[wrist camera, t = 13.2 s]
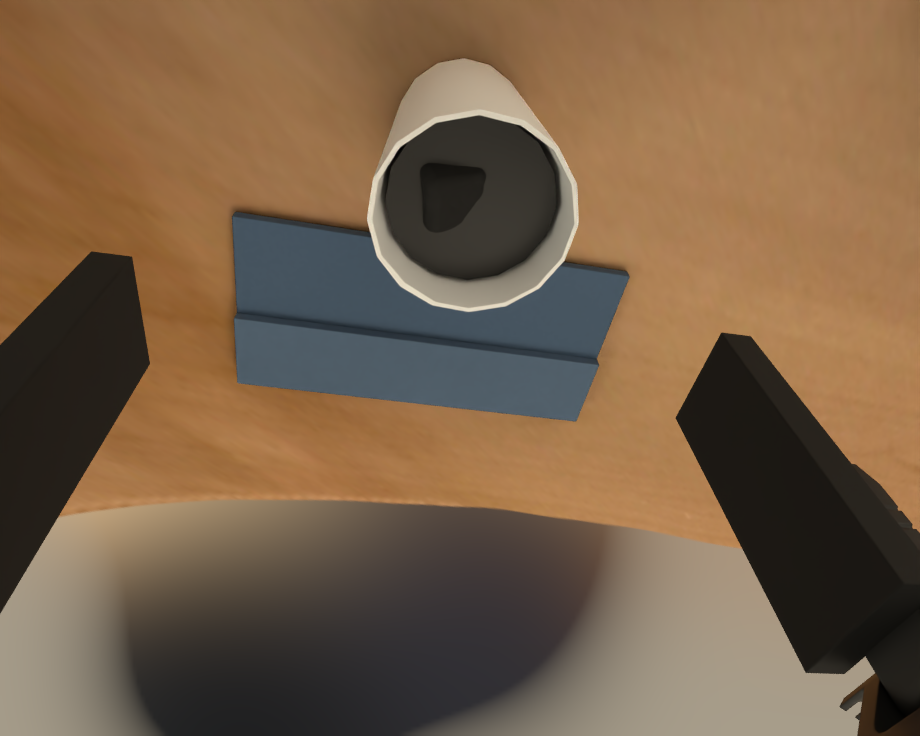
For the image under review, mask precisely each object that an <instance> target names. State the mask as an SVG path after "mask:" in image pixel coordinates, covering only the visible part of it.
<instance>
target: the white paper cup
mask: <svg viewBox="0 0 920 736" xmlns="http://www.w3.org/2000/svg"><path fill="white" fill-rule="evenodd" d="M367 222H368V225H369V229H370V233H371V236H372V240H373V244H374V248H375V251H376V255H377V257H378V259H379V260H380V261H381V263H382V264H383V265H384V266H385V268H386V269H387V270H388V272H389V273H390V274H391V275H392V277H393V278H394V279H395V281H396V282H397V283H398V284H399V286H400V287H402V288H404V289H405V290H407V291H409V292H410V293H412V294H414V295H416V296H417V297H419V298H421V299H422V300H424V301H426V302H427V303H429V304H431V305H433V306H439V307H444V308H449V309H455V310H460V311H466V312H472V311H479V310H485V309H492V308H498V307H505V306H507V305H509V304H511V303H513V302H515V301H517V300H518V299H520V298H522V297H524V296H526V295H528V294H530V293H532V292H534V291H535V290H537V289H539V288H540V287H541V286H542V285H543V284H544V283H545V281H546V280H547V279H548V278H549V277H550V276H551V275H552V274H553V273H554V272H555V270H556V269H557V268H558V267H559V266H560V265H561V264H562V263H563V262H564V260H565V258H566V256H567V253H568V250H569V248H570V245H571V242H572V240H573V237H574V235H575V232H576V229H577V227H578V224H579V222H578V195H577V183H576V181H575V179H574V177H573V175H572V173H571V171H570V169H569V167H568V165H567V163H566V161H565V159H564V157H563V155H562V153H561V151H560V149H559V147H558V146H557V144H556V143H555V142H554V140H553V139H552V138H551V136H550V135H549V134H548V132H547V131H546V129H545V128H544V127H543V125H542V124H541V123H540V121H539V120H538V119H537V117H536V116H535V115H534V113H533V112H532V110H531V109H530V108H529V106H528V105H527V104H526V102H525V101H524V100H523V98H522V97H521V96H520V94H519V93H518V91H517V90H516V89H515V87H514V86H513V85H512V83H511V82H510V81H509V80H508V79H507V78H505V77H504V76H503V75H502V74H500V73H499V72H498V71H497V70H496V69H494V68H493V67H492V66H491V65H488V64H484V63H480V62H477V61H473V60H469V59H465V58H462V59H457V60H452V61H446V62H441V63H437V64H435V65H434V66H433V67H431V68H430V69H428V70H427V71H425V72H424V73H423V74H421V75H420V76H418V77H417V78H415V80H414V81H413V83H412V85H411V86H410V88H409V89H408V91H407V93H406V94H405V96H404V97H403V99H402V101H401V103H400V106H399V109H398V112H397V114H396V117H395V120H394V123H393V125H392V128H391V131H390V134H389V136H388V139H387V142H386V145H385V147H384V150H383V153H382V156H381V158H380V161H379V164H378V167H377V169H376V172H375V175H374V178H373V183H372V189H371V196H370V202H369V209H368V215H367Z"/></svg>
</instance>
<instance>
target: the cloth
mask: <svg viewBox="0 0 920 736" xmlns="http://www.w3.org/2000/svg"><path fill="white" fill-rule="evenodd" d="M232 225H233V245H234V264H235V284H236V303H237V313H236V316H235V318H234V329H235V347H236V365H237V382H238V383H241V384H249V385H258V386H267V387H276V388H285V389H294V390H302V391H311V392H320V393H329V394H338V395H347V396H355V397H364V398H373V399H382V400H391V401H400V402H409V403H417V404H426V405H435V406H444V407H453V408H462V409H470V410H479V411H488V412H497V413H506V414H515V415H524V416H532V417H541V418H550V419H559V420H568V421H576V420H577V418H578V416H579V413H580V411H581V408H582V406H583V403H584V401H585V398H586V396H587V393H588V391H589V389H590V386H591V384H592V381H593V379H594V376H595V374H596V371H597V369H598V367H599V364H598V361H597V357H598V354H599V352H600V349H601V347H602V344H603V342H604V339H605V337H606V334H607V332H608V329H609V327H610V324H611V322H612V319H613V317H614V314H615V312H616V309H617V307H618V304H619V302H620V299H621V297H622V294H623V292H624V289H625V287H626V284H627V282H628V279H629V274H628V273H627V272H626V271H620V270H614V269H607V268H601V267H594V266H588V265H581V264H574V263H568V262H563V263H562V264H561V265H560V266H559V267H558V268H557V269H556V270H555V272H554V273H553V274H552V275H551V276H550V277H549V278H548V279H547V280H546V281H545V283H544V284H543V285H542V286H541V287H540V288H539V289H537V290H535V291H534V292H532V293H530V294H528V295H526V296H524V297H522V298H520V299H518V300H517V301H515V302H513V303H511V304H509V305H507V306H505V307H498V308H492V309H485V310H479V311H472V312H466V311H460V310H455V309H449V308H444V307H439V306H433V305H431V304H429V303H427V302H426V301H424V300H422V299H421V298H419V297H417V296H416V295H414V294H412V293H410V292H409V291H407V290H405V289H404V288H402V287H400V286H399V284H398V283H397V282H396V281H395V279H394V278H393V277H392V275H391V274H390V273H389V272H388V270H387V269H386V268H385V266H384V265H383V264H382V263H381V261H380V260H379V259H378V257H377V255H376V251H375V248H374V244H373V240H372V236H371V233H370V232H365V231H358V230H352V229H345V228H338V227H332V226H325V225H319V224H312V223H306V222H299V221H293V220H286V219H279V218H273V217H266V216H260V215H253V214H247V213H240V212H235V213H234V214H233V216H232Z"/></svg>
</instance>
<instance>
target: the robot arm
mask: <svg viewBox="0 0 920 736" xmlns="http://www.w3.org/2000/svg"><path fill="white" fill-rule="evenodd" d="M149 364H150V361H149V355H148V349H147V343H146V337H145V331H144V326H143V320H142V314H141V308H140V302H139V296H138V290H137V284H136V278H135V272H134V266H133V260H132V257H130V256H122V255H114V254H107V253H99V252H90V253H89V255H88V256H87V257H86V258H85V259H84V260H83V261H82V262H81V263H80V264H79V265H78V266H77V267H76V268H75V269H74V270H73V271H72V272H71V273H70V274H69V275H68V276H67V277H66V278H65V279H64V280H63V281H62V282H61V283H60V284H59V285H58V286H57V287H56V288H55V289H54V290H53V291H52V292H51V294H50V295H49V296H48V297H47V298H46V299H45V300H44V301H43V302H42V303H41V304H40V305H39V306H38V307H37V308H36V309H35V310H34V311H33V312H32V313H31V314H30V315H29V316H28V317H27V318H26V319H25V320H24V321H23V322H22V323H21V324H20V325H19V326H18V327H17V328H16V329H15V330H14V332H13V333H12V334H11V335H10V336H9V337H8V338H7V339H6V340H5V341H4V342H3V343H2V344H1V345H0V613H1V611H2V610H3V608H4V606H5V605H6V603H7V601H8V600H9V598H10V596H11V595H12V593H13V591H14V590H15V588H16V586H17V585H18V583H19V581H20V580H21V578H22V576H23V574H24V573H25V571H26V570H27V568H28V566H29V565H30V563H31V561H32V560H33V558H34V556H35V555H36V553H37V551H38V550H39V548H40V546H41V544H42V543H43V541H44V540H45V538H46V536H47V535H48V533H49V531H50V529H51V528H52V526H53V525H54V523H55V521H56V519H57V518H58V516H59V515H60V513H61V511H62V510H63V508H64V506H65V505H66V503H67V501H68V500H69V498H70V496H71V495H72V493H73V491H74V490H75V488H76V486H77V485H78V483H79V481H80V480H81V478H82V476H83V475H84V473H85V471H86V470H87V468H88V466H89V465H90V463H91V461H92V460H93V458H94V456H95V455H96V453H97V451H98V450H99V448H100V446H101V445H102V443H103V441H104V440H105V438H106V436H107V435H108V433H109V431H110V430H111V428H112V426H113V425H114V423H115V421H116V420H117V418H118V416H119V415H120V413H121V411H122V410H123V408H124V406H125V405H126V403H127V401H128V400H129V398H130V396H131V395H132V393H133V391H134V390H135V388H136V386H137V385H138V383H139V381H140V379H141V378H142V376H143V374H144V373H145V371H146V369H147V368H148V366H149ZM676 420H677V422H678V424H679V426H680V428H681V430H682V432H683V433H684V435H685V437H686V439H687V441H688V443H689V445H690V447H691V449H692V451H693V453H694V455H695V457H696V459H697V461H698V463H699V465H700V467H701V469H702V471H703V473H704V475H705V476H706V478H707V480H708V482H709V484H710V486H711V488H712V490H713V492H714V494H715V496H716V498H717V500H718V502H719V504H720V506H721V508H722V510H723V512H724V514H725V516H726V518H727V520H728V521H729V523H730V525H731V527H732V529H733V531H734V533H735V535H736V537H737V539H738V541H739V543H740V545H741V547H742V549H743V551H744V553H745V555H746V557H747V559H748V560H749V563H750V564H751V566H752V568H753V570H754V572H755V574H756V576H757V578H758V580H759V582H760V584H761V586H762V588H763V590H764V592H765V594H766V596H767V598H768V600H769V602H770V604H771V606H772V607H773V609H774V611H775V613H776V615H777V617H778V619H779V621H780V623H781V625H782V627H783V629H784V631H785V633H786V635H787V637H788V639H789V641H790V643H791V644H792V647H793V648H794V651H795V652H796V654H797V656H798V658H799V660H800V662H801V664H802V666H803V668H804V670H805V672H806V673H829V674H845V673H846V672H847V671H848V670H850V669H851V668H852V667H853V666H854V665H856V664H857V663H858V662H859V661H860V660H861V659H863V658H864V657H865V656H866V658H867V660H868V661H869V663H870V665H871V666H872V668H873V670H874V671H875V674H874V675H873V676H871V677H870V678H869V679H867V680H866V681H865V682H864V683H862V684H861V685H860V686H859V687H858V688H856V689H855V690H854V691H852V692H851V693H850V694H849V695H847V696H846V697H845V698H844V699H843V701H842V703H841V705H840V708H842V709H843V710H845V711H847V710H848V709H849V708H851V707H852V706H853V705H855V704H856V703H857V702H860V701H861V702H862V707H861V713H859V714H858V715H857V716H856V718H857V719H858V720H860V721H859V728H858V736H920V533H919V532H918V531H917V529H913V528H912V523H911V522H910V521H909V520H908V518H907V517H906V516H905V515H904V513H903V512H902V511H898V509H897V508H898V506H897V505H896V504H895V502H894V501H893V500H892V499H891V497H890V496H889V495H888V494H887V492H886V491H885V490H884V489H883V488H882V486H881V485H880V484H879V483H878V482H876V481H875V480H874V479H873V478H871V477H870V476H869V475H868V474H867V473H865V472H864V471H863V470H862V469H861V468H859V467H858V466H857V465H856V464H851V463H850V462H849V460H848V459H847V458H846V457H845V455H844V454H843V453H842V451H841V450H840V449H839V448H838V446H837V445H836V444H835V443H834V441H833V440H832V439H831V438H830V436H829V435H828V434H827V432H826V431H825V430H824V429H823V427H822V426H821V425H820V424H819V422H818V421H817V420H816V419H815V417H814V416H813V415H812V413H811V412H810V411H809V410H808V408H807V407H806V406H805V405H804V403H803V402H802V401H801V400H800V398H799V397H798V396H797V394H796V393H795V392H794V391H793V389H792V388H791V387H790V386H789V384H788V383H787V382H786V380H785V379H784V378H783V377H782V375H781V374H780V373H779V372H778V370H777V369H776V368H775V367H774V365H773V364H772V363H771V361H770V360H769V359H768V358H767V356H766V355H765V354H764V353H763V351H762V350H761V349H760V348H759V346H758V345H757V344H756V342H755V341H754V340H753V339H752V337H751V336H744V335H736V334H728V333H721V334H720V336H719V338H718V340H717V342H716V344H715V346H714V347H713V349H712V351H711V353H710V355H709V357H708V359H707V361H706V362H705V364H704V366H703V368H702V370H701V372H700V374H699V375H698V377H697V379H696V381H695V383H694V385H693V387H692V388H691V390H690V392H689V394H688V396H687V398H686V400H685V401H684V403H683V405H682V407H681V409H680V411H679V413H678V414H677V416H676Z"/></svg>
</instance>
